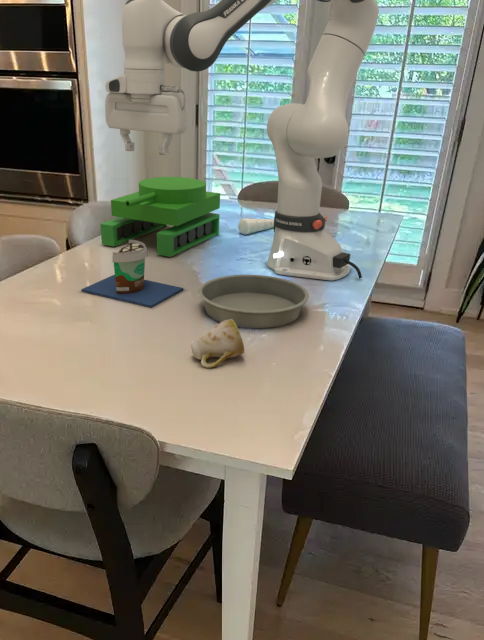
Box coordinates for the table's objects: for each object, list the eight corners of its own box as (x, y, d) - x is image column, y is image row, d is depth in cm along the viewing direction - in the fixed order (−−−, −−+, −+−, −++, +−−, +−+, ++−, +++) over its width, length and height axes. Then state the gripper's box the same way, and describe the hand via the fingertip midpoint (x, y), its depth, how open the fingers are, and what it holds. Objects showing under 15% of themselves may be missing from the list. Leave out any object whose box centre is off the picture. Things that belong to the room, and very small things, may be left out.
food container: (139, 298, 139) (138, 255, 134) (114, 295, 140) (111, 252, 135) (155, 281, 150) (154, 240, 144) (131, 279, 151) (129, 238, 145)
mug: (182, 353, 117) (204, 306, 115) (226, 372, 120) (248, 326, 118) (189, 361, 110) (212, 310, 108) (236, 381, 113) (259, 332, 111)
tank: (89, 249, 174) (84, 190, 165) (154, 224, 200) (153, 171, 191) (161, 263, 164) (159, 201, 156) (219, 235, 191) (221, 180, 182)
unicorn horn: (298, 225, 203) (299, 210, 201) (247, 236, 190) (247, 220, 188) (288, 222, 206) (289, 207, 204) (236, 233, 193) (237, 217, 191)
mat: (183, 290, 147) (183, 287, 146) (151, 307, 136) (151, 305, 136) (116, 275, 155) (116, 273, 154) (81, 291, 144) (81, 289, 144)
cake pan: (310, 296, 145) (312, 278, 142) (302, 337, 124) (305, 316, 122) (210, 287, 149) (210, 269, 146) (186, 325, 128) (186, 304, 126)
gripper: (192, 86, 131) (192, 155, 138) (116, 82, 139) (119, 147, 146) (177, 87, 126) (177, 158, 133) (99, 82, 134) (103, 150, 142)
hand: (146, 152), depth 140 cm, fingers open, 8 cm apart
